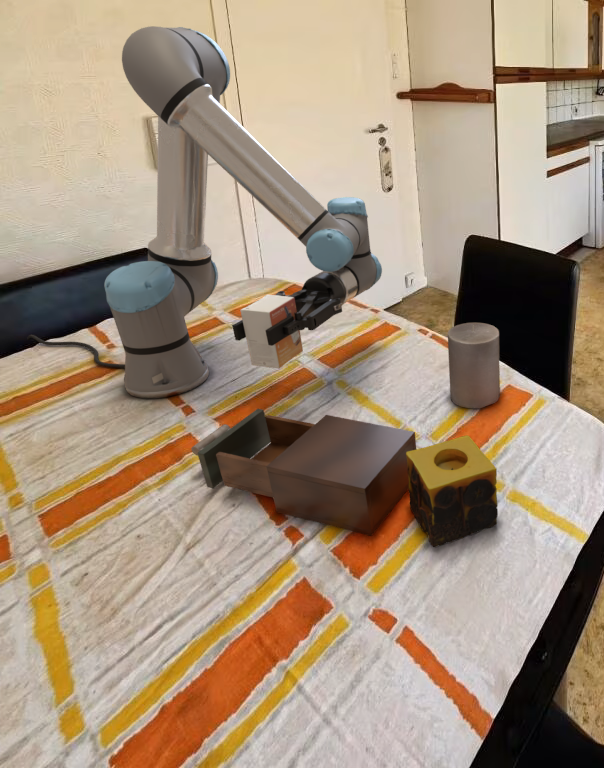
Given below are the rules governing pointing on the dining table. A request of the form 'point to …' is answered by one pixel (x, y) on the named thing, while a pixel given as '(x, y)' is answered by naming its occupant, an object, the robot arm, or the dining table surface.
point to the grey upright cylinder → (474, 364)
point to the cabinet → (343, 474)
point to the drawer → (247, 451)
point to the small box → (264, 317)
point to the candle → (452, 490)
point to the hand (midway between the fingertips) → (252, 335)
